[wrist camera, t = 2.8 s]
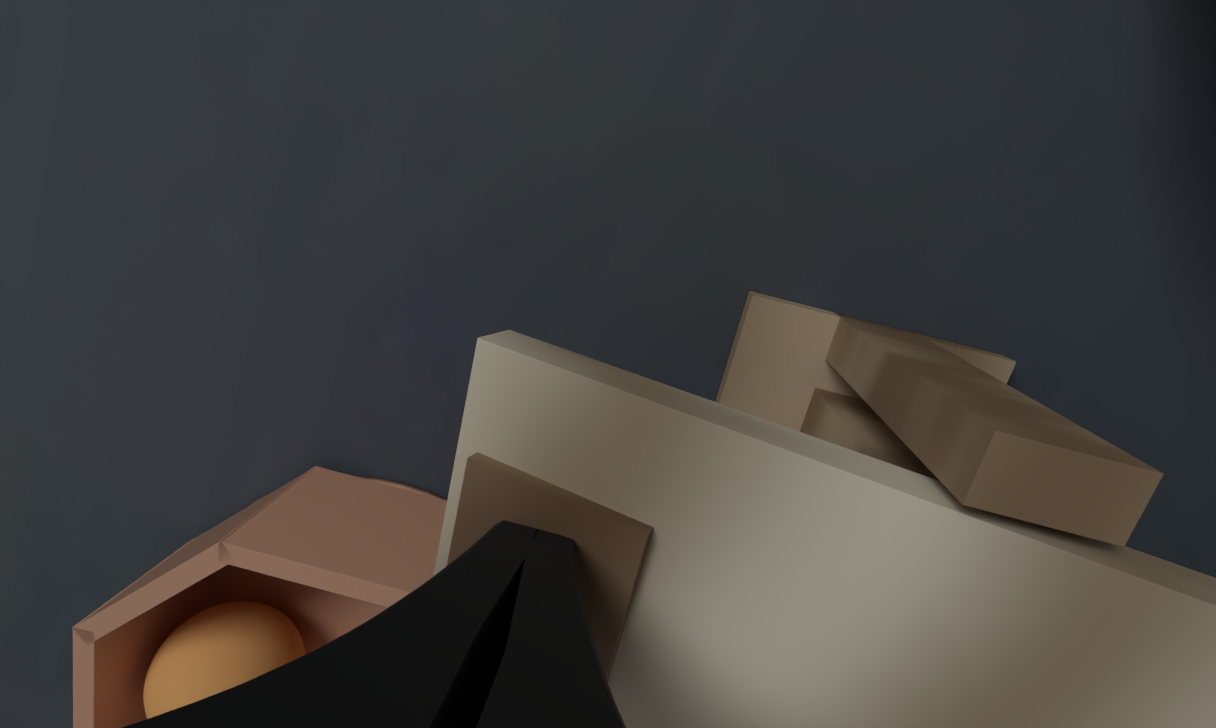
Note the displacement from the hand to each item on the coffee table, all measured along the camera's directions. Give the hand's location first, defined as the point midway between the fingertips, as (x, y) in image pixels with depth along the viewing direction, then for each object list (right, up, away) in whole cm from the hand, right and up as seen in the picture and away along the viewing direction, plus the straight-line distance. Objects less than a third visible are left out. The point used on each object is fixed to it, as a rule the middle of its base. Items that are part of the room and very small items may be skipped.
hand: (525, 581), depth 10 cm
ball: (-9, -5, +6) cm, 11 cm away
